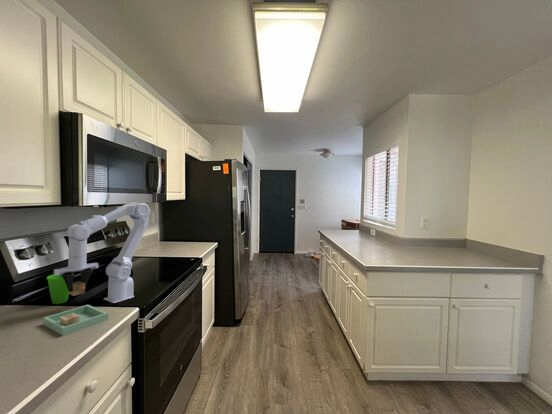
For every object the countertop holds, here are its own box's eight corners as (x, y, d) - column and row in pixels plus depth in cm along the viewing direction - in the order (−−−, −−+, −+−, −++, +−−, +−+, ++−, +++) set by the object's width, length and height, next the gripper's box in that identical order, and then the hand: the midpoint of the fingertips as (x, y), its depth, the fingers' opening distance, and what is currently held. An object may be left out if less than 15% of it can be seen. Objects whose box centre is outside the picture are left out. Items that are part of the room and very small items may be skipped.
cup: (41, 302, 111) (42, 276, 111) (66, 296, 119) (67, 271, 119) (52, 307, 107) (52, 280, 107) (77, 300, 115) (78, 275, 115)
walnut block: (79, 291, 108) (80, 281, 108) (84, 293, 106) (85, 283, 106) (68, 293, 104) (68, 283, 104) (73, 295, 102) (73, 285, 102)
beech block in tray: (73, 324, 93) (73, 313, 93) (79, 327, 91) (79, 315, 91) (59, 328, 90) (59, 317, 90) (65, 332, 88) (65, 320, 88)
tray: (87, 312, 105) (87, 304, 104) (108, 321, 98) (108, 313, 98) (43, 326, 92) (43, 317, 92) (63, 337, 86) (63, 328, 85)
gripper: (92, 251, 113) (91, 283, 113) (50, 256, 100) (49, 292, 101) (101, 253, 110) (100, 286, 110) (59, 259, 97) (58, 296, 97)
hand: (76, 289), depth 105 cm, fingers closed on walnut block, 4 cm apart
